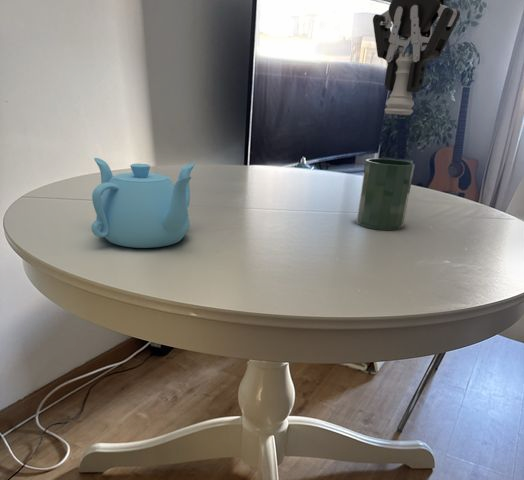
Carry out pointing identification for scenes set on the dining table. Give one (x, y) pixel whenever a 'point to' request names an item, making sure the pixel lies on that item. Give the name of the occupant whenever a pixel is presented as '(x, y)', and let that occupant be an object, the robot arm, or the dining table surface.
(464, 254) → the dining table surface
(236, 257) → the dining table surface
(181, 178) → the teapot
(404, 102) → the rook chess piece
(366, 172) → the holder
